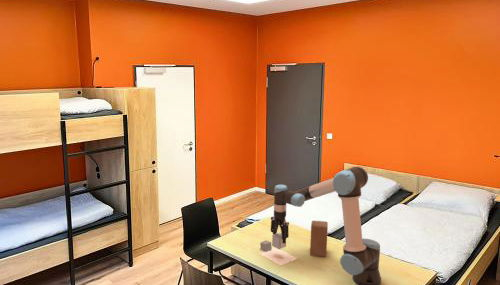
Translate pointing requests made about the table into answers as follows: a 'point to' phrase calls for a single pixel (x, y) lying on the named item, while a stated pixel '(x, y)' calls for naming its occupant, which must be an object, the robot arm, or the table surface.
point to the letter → (278, 256)
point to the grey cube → (265, 246)
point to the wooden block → (318, 238)
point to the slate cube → (277, 240)
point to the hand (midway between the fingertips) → (279, 245)
